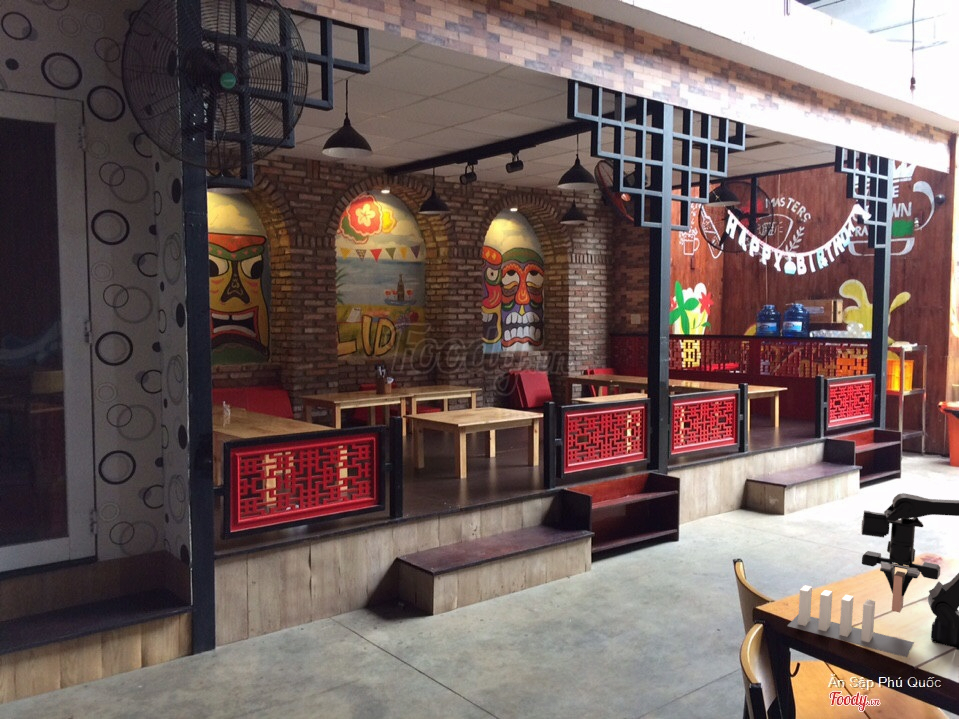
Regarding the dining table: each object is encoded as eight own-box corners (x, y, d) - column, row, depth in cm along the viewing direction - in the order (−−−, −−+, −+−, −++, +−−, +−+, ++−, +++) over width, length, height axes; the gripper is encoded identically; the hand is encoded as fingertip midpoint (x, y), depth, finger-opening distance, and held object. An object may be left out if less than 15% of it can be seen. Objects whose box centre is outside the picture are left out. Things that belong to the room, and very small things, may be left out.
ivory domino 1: (810, 620, 225) (812, 586, 224) (805, 626, 221) (807, 591, 220) (802, 618, 226) (804, 585, 225) (797, 624, 222) (799, 589, 221)
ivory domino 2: (830, 625, 221) (832, 591, 221) (825, 631, 217) (828, 596, 217) (822, 623, 223) (824, 589, 222) (818, 629, 219) (820, 594, 218)
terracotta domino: (902, 607, 219) (905, 572, 218) (899, 612, 215) (902, 577, 214) (894, 605, 220) (897, 570, 220) (891, 610, 216) (894, 575, 216)
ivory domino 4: (872, 636, 215) (875, 601, 214) (869, 642, 211) (871, 606, 210) (865, 634, 216) (867, 599, 215) (861, 640, 212) (863, 604, 211)
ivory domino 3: (851, 631, 218) (853, 596, 217) (847, 636, 214) (849, 601, 213) (843, 629, 219) (845, 594, 219) (839, 634, 215) (841, 599, 215)
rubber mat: (913, 643, 212) (914, 642, 212) (906, 658, 202) (906, 657, 202) (798, 614, 230) (799, 613, 230) (787, 627, 220) (787, 626, 220)
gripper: (944, 540, 217) (940, 595, 218) (871, 527, 228) (867, 579, 229) (939, 549, 208) (935, 606, 209) (863, 535, 220) (859, 589, 221)
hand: (898, 594), depth 217 cm, fingers closed on terracotta domino, 2 cm apart
